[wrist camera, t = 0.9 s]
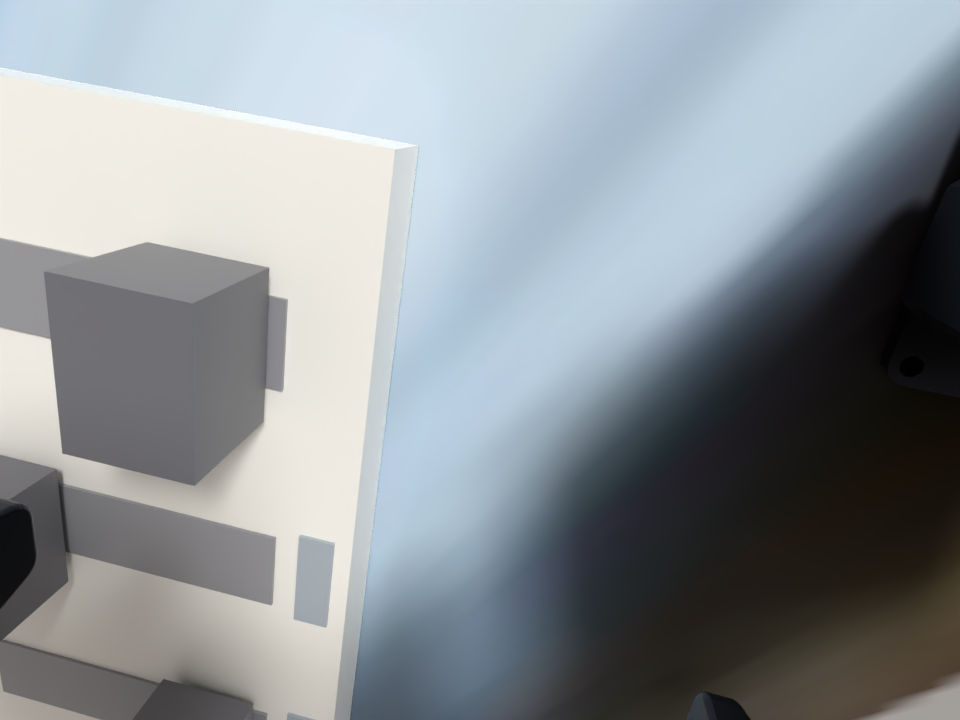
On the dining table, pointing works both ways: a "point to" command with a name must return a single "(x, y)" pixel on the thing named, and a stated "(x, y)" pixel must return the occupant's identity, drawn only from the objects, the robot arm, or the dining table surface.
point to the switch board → (255, 461)
